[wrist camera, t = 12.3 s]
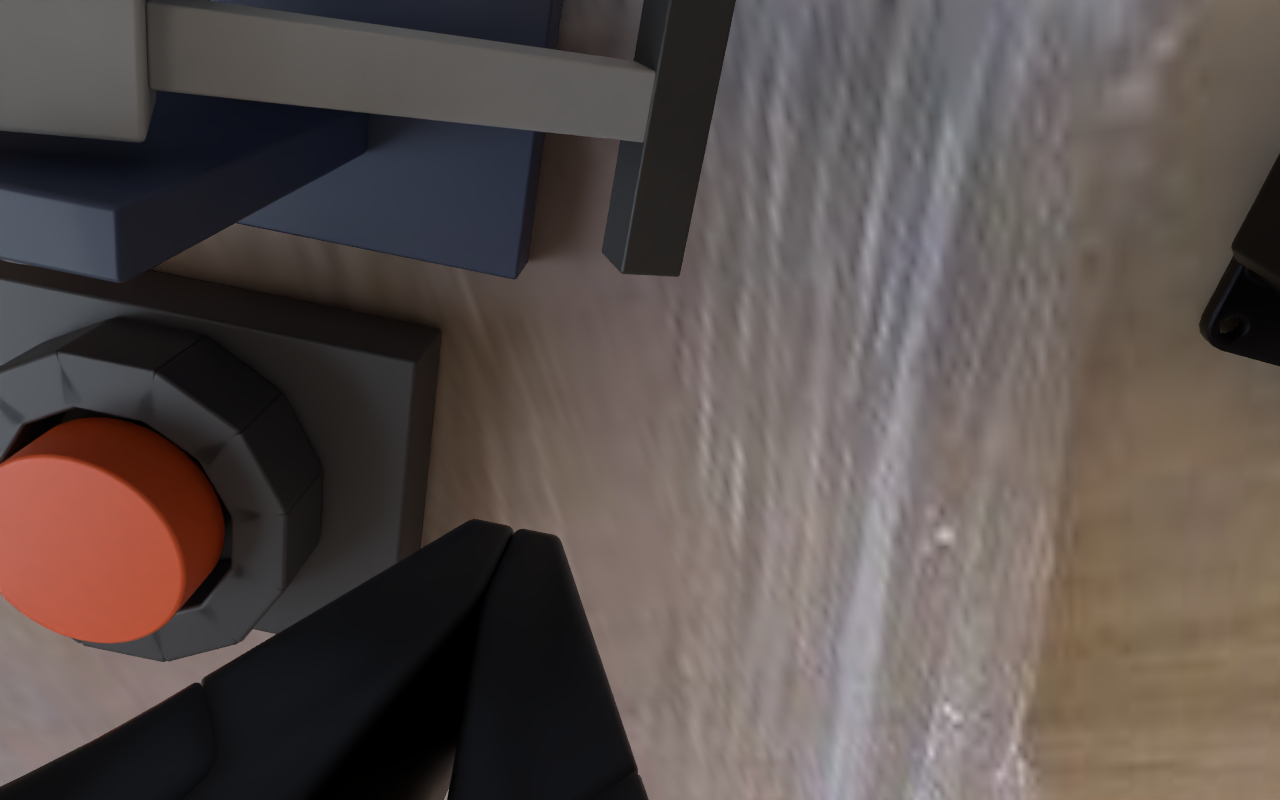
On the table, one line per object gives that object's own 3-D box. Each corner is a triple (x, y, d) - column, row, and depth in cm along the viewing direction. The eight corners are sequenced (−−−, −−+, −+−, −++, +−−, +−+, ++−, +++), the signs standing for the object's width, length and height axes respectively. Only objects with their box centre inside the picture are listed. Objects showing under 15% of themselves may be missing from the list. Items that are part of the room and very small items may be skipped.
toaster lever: (705, -79, 16) (772, -68, 14) (644, 244, 18) (695, 292, 16) (-114, -248, 12) (-180, -266, 10) (-57, 200, 14) (-102, 256, 12)
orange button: (226, 439, 20) (182, 481, 18) (227, 612, 22) (187, 664, 20) (15, 396, 20) (-48, 434, 18) (33, 572, 22) (-22, 621, 20)
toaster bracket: (591, -208, 18) (441, -364, 9) (527, 264, 22) (379, 482, 13) (-1, -324, 18) (-726, -591, 9) (39, 165, 22) (-444, 314, 13)
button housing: (442, 328, 22) (385, 401, 19) (414, 609, 26) (361, 716, 22) (-28, 233, 23) (-174, 287, 19) (6, 525, 26) (-113, 618, 22)
